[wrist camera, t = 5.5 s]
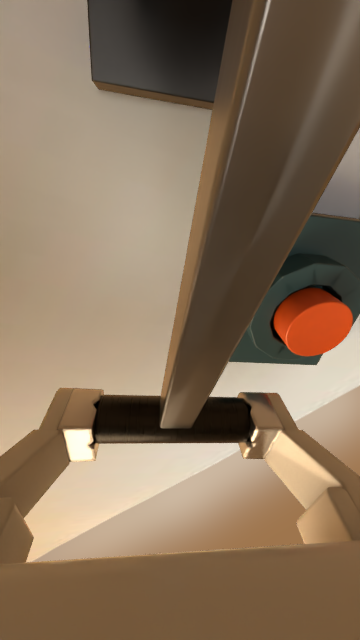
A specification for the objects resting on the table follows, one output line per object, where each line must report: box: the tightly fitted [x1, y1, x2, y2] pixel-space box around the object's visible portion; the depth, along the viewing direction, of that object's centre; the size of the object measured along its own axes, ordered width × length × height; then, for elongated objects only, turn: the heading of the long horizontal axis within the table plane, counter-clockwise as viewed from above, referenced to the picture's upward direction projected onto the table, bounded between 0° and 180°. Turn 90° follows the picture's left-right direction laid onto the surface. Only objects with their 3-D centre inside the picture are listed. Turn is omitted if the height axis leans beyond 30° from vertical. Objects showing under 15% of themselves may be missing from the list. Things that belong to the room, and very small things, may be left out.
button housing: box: [228, 213, 360, 365], centre depth 15 cm, size 10×8×4 cm
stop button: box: [273, 288, 353, 356], centre depth 13 cm, size 4×4×2 cm
